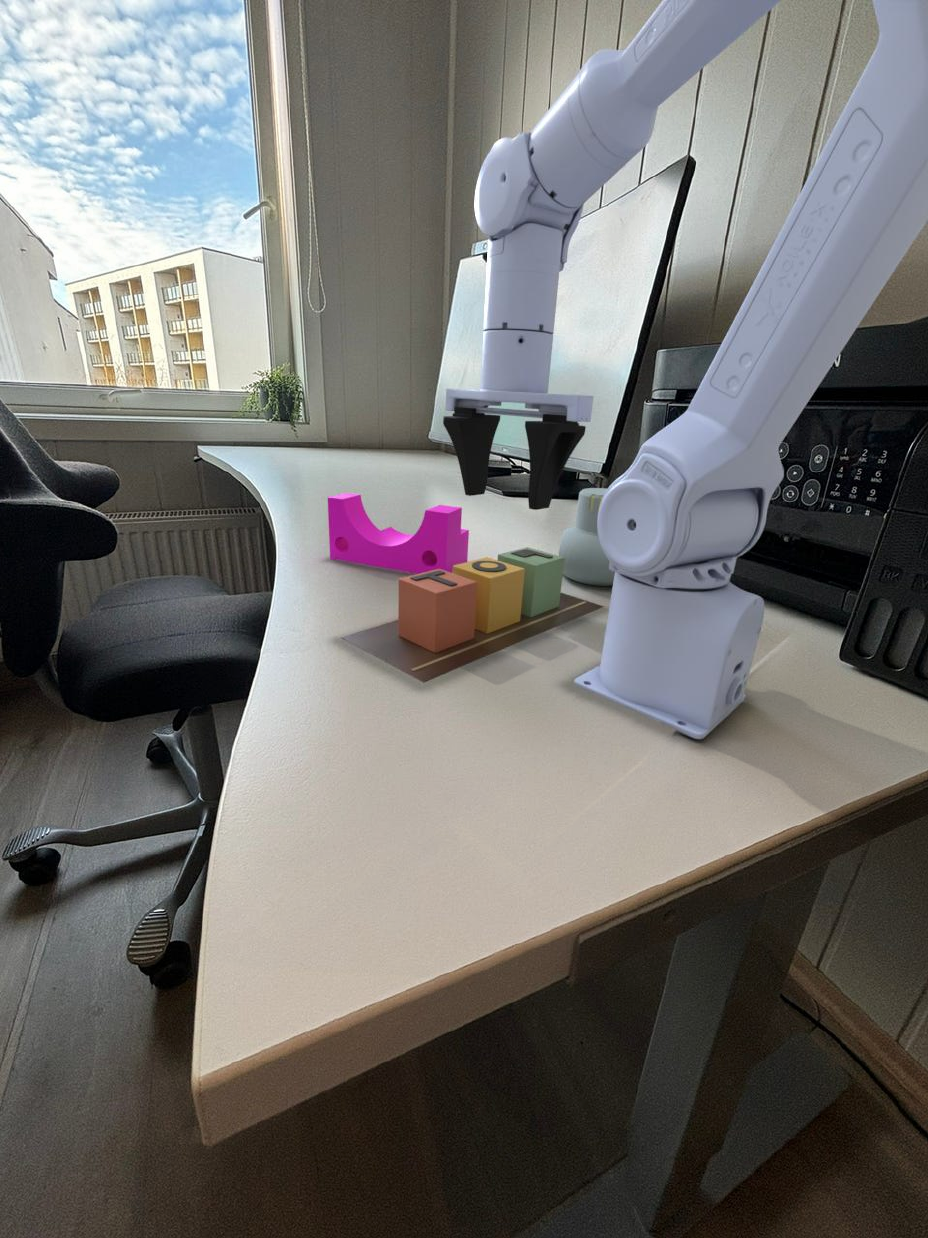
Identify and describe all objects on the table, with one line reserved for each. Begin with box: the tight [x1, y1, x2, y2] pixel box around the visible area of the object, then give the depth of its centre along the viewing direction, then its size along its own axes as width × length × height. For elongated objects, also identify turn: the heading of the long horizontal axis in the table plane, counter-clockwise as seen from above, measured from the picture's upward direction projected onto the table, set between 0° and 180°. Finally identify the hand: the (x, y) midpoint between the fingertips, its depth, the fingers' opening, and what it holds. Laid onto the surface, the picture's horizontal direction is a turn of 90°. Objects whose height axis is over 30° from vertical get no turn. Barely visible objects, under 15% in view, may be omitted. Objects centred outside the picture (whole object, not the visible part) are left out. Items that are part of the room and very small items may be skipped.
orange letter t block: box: [397, 569, 477, 653], centre depth 46 cm, size 4×4×5 cm
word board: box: [341, 592, 604, 683], centre depth 51 cm, size 10×24×1 cm, turn 136°
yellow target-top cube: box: [452, 556, 525, 634], centre depth 50 cm, size 4×4×5 cm
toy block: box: [327, 492, 470, 574], centre depth 66 cm, size 15×6×8 cm, turn 68°
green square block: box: [497, 546, 565, 617], centre depth 54 cm, size 4×4×5 cm
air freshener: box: [558, 487, 615, 587], centre depth 63 cm, size 11×8×10 cm
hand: (505, 501), depth 51 cm, fingers open, 7 cm apart
